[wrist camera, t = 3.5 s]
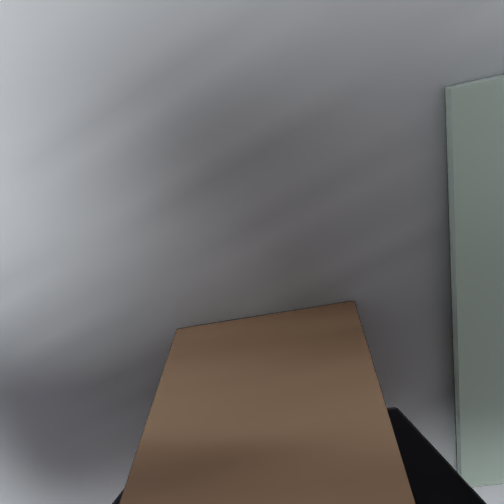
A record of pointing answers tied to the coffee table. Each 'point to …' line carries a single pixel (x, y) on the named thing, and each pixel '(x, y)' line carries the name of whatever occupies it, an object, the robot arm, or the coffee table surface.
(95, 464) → the coffee table surface
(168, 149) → the coffee table surface
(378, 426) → the walnut block
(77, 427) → the coffee table surface
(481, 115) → the pale green flat panel
